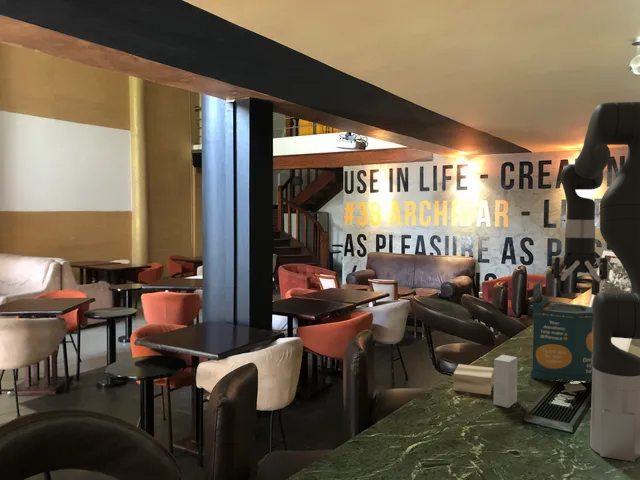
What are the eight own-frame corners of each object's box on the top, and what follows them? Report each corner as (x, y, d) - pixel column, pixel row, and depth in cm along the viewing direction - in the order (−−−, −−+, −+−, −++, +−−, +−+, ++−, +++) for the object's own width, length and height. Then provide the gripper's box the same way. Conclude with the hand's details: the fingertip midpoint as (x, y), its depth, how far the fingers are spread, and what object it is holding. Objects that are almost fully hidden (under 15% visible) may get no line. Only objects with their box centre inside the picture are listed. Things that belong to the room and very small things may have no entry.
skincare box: (501, 398, 142) (502, 354, 141) (517, 401, 139) (518, 357, 139) (492, 404, 137) (493, 359, 137) (508, 408, 135) (509, 362, 134)
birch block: (490, 395, 145) (491, 378, 144) (453, 391, 148) (453, 373, 148) (493, 384, 154) (493, 367, 154) (458, 380, 158) (458, 364, 157)
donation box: (539, 364, 173) (541, 279, 172) (594, 372, 165) (597, 283, 163) (530, 378, 159) (533, 285, 158) (590, 387, 151) (593, 290, 150)
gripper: (558, 236, 144) (556, 295, 144) (613, 237, 142) (611, 296, 143) (548, 235, 151) (547, 292, 152) (600, 236, 150) (599, 293, 151)
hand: (578, 294), depth 147 cm, fingers open, 8 cm apart
